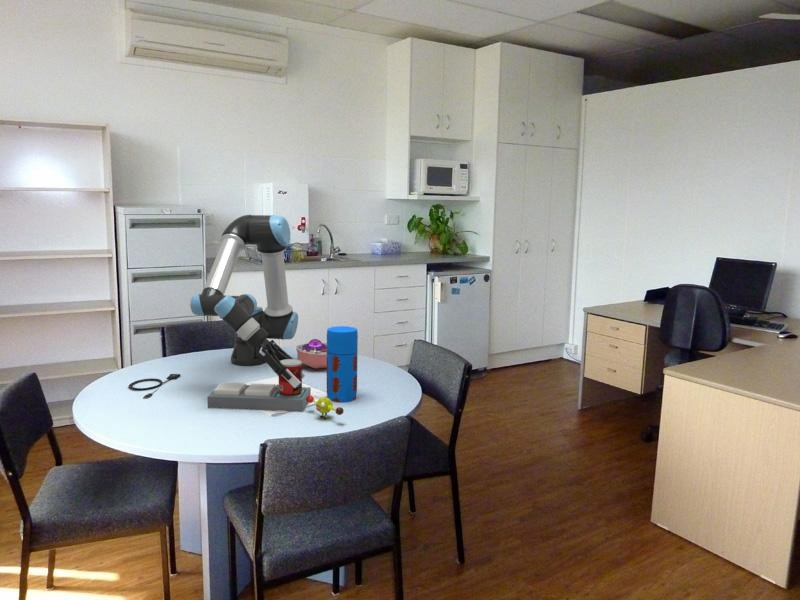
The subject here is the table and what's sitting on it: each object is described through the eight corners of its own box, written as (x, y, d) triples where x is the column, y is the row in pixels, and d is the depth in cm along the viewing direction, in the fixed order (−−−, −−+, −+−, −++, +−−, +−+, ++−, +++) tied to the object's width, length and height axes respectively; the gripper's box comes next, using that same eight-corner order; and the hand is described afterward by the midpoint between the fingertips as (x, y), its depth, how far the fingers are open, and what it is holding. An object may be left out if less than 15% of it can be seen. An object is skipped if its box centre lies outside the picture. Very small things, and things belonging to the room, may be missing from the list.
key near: (222, 392, 223) (222, 382, 223) (246, 392, 223) (245, 383, 222) (214, 399, 215) (213, 389, 214) (238, 400, 215) (238, 390, 214)
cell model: (298, 374, 254) (298, 347, 252) (294, 361, 273) (294, 336, 271) (340, 372, 258) (340, 345, 256) (333, 360, 277) (333, 334, 275)
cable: (110, 398, 222) (110, 394, 222) (148, 375, 249) (148, 372, 249) (147, 400, 221) (147, 396, 221) (181, 377, 248) (181, 373, 248)
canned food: (297, 397, 213) (297, 365, 212) (275, 395, 215) (274, 363, 213) (305, 390, 221) (305, 359, 219) (283, 388, 222) (283, 358, 220)
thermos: (349, 404, 220) (349, 333, 216) (321, 400, 223) (321, 330, 219) (361, 395, 230) (362, 327, 226) (335, 391, 233) (335, 325, 229)
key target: (281, 398, 223) (281, 388, 222) (305, 399, 222) (305, 389, 222) (275, 406, 214) (275, 396, 214) (300, 407, 214) (300, 397, 213)
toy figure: (300, 412, 210) (300, 392, 209) (313, 408, 214) (313, 389, 213) (334, 427, 198) (334, 406, 197) (348, 423, 202) (348, 402, 200)
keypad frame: (221, 395, 226) (220, 384, 226) (310, 398, 225) (310, 387, 224) (207, 407, 213) (207, 396, 212) (302, 411, 211) (302, 399, 211)
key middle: (251, 393, 223) (251, 383, 222) (275, 394, 222) (275, 384, 222) (244, 400, 214) (244, 390, 214) (269, 401, 214) (269, 391, 214)
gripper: (253, 334, 226) (298, 380, 228) (236, 348, 205) (285, 398, 207) (268, 320, 225) (313, 366, 226) (252, 333, 204) (302, 383, 206)
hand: (300, 381), depth 217 cm, fingers closed on canned food, 8 cm apart
